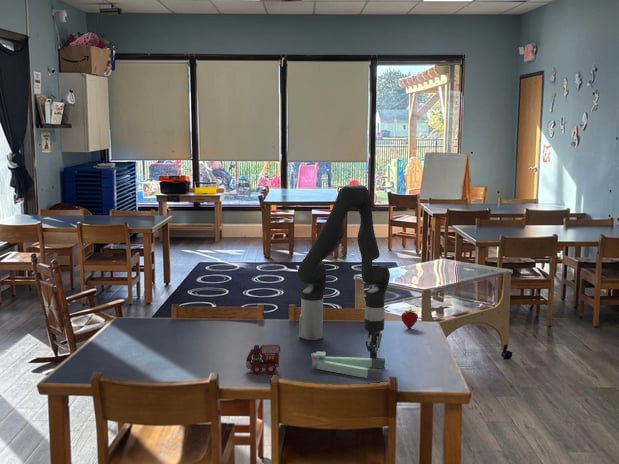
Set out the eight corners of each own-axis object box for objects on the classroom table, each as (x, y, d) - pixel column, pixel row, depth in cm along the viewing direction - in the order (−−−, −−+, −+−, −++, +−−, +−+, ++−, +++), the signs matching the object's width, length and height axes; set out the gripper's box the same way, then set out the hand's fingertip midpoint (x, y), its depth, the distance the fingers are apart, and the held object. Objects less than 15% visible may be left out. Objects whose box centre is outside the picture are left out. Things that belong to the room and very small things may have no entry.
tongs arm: (310, 368, 264) (310, 356, 263) (311, 363, 269) (311, 351, 268) (385, 371, 262) (385, 359, 261) (384, 366, 267) (384, 354, 266)
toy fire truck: (246, 367, 264) (246, 341, 262) (279, 367, 265) (279, 341, 263) (246, 374, 257) (246, 347, 255) (280, 374, 258) (280, 347, 256)
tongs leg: (310, 368, 265) (310, 357, 264) (313, 365, 267) (313, 355, 267) (380, 380, 254) (380, 370, 253) (382, 378, 256) (382, 367, 256)
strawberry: (399, 326, 317) (400, 305, 316) (415, 326, 318) (416, 305, 316) (402, 330, 312) (403, 308, 310) (418, 330, 312) (420, 308, 311)
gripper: (370, 311, 274) (369, 353, 277) (359, 320, 262) (358, 364, 265) (389, 313, 271) (387, 356, 274) (378, 323, 259) (377, 368, 262)
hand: (373, 360), depth 269 cm, fingers closed
